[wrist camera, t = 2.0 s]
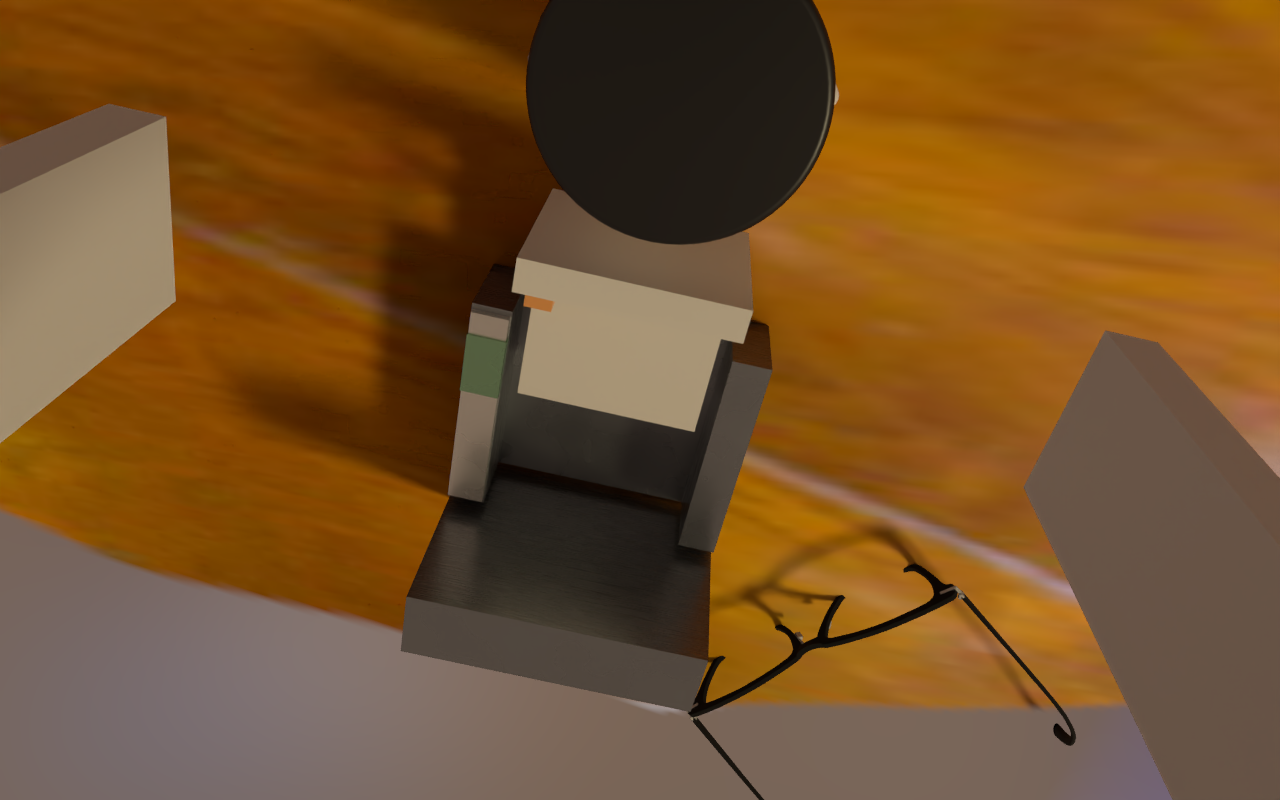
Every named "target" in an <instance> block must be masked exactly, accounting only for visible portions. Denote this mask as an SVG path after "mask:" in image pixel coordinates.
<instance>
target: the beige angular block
mask: <svg viewBox="0 0 1280 800" xmlns="http://www.w3.org/2000/svg"><path fill="white" fill-rule="evenodd" d="M512 292H515V293H519V294H523V295H525V299H524V305H523V306H526V307H530V308H531V313H530V319H529V325H528V331H527V337H526V343H525V349H524V355H523V362H522V368H521V374H520V380H519V386H518V392H517V393H521V394H525V395H530V396H534V397H539V398H543V399H548V400H552V401H557V402H561V403H566V404H570V405H575V406H579V407H584V408H588V409H593V410H597V411H602V412H607V413H611V414H616V415H620V416H625V417H629V418H634V419H638V420H643V421H647V422H652V423H656V424H661V425H665V426H670V427H674V428H679V429H683V430H688V431H692V432H695V428H696V425H697V421H698V418H699V414H700V411H701V407H702V404H703V400H704V397H705V393H706V390H707V386H708V383H709V379H710V376H711V372H712V369H713V365H714V362H715V358H716V355H717V351H718V348H719V344H720V341H721V339H723V340H728V341H732V342H736V343H741V344H743V343H744V340H745V336H746V333H747V330H748V326H749V323H750V320H751V316H752V313H753V300H752V282H751V264H750V246H749V233H745V232H739V233H737V234H735V235H732V236H729V237H726V238H723V239H720V240H715V241H711V242H706V243H699V244H688V245H672V244H661V243H654V242H649V241H645V240H641V239H637V238H634V237H631V236H628V235H625V234H623V233H621V232H619V231H616V230H614V229H612V228H610V227H608V226H607V225H605V224H603V223H601V222H600V221H598V220H597V219H595V218H594V217H592V216H591V215H589V214H588V213H587V212H586V211H584V210H583V209H582V208H581V207H580V206H579V205H577V204H576V203H575V202H574V201H573V200H572V199H571V198H570V197H569V196H568V195H567V193H566V192H565V191H562V190H558V189H554V188H553V189H552V191H551V193H550V195H549V197H548V199H547V201H546V203H545V204H544V206H543V208H542V210H541V212H540V214H539V216H538V218H537V220H536V222H535V224H534V226H533V227H532V229H531V231H530V233H529V235H528V237H527V239H526V241H525V243H524V245H523V247H522V248H521V250H520V252H519V254H518V256H517V260H516V266H515V273H514V280H513V286H512Z"/></svg>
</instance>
